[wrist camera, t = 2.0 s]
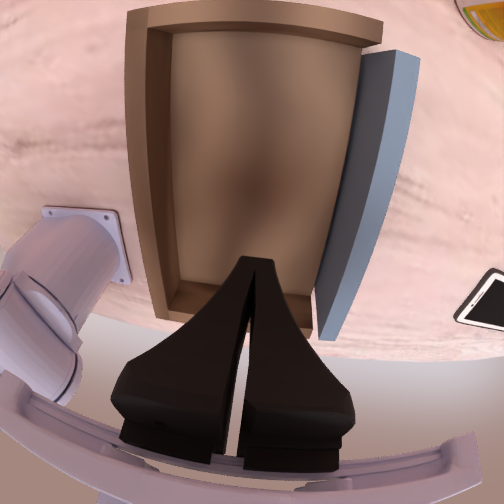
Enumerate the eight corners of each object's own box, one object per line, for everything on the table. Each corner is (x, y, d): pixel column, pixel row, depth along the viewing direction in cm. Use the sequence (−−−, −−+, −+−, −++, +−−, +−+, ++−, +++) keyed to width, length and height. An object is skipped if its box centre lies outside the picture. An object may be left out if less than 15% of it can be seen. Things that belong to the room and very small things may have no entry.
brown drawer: (174, 276, 25) (155, 317, 21) (164, 22, 13) (127, 11, 9) (307, 293, 25) (309, 338, 21) (357, 33, 12) (383, 21, 8)
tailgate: (314, 283, 24) (318, 340, 19) (360, 55, 13) (396, 49, 8) (327, 284, 24) (334, 341, 19) (378, 60, 13) (420, 58, 8)
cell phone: (506, 327, 26) (508, 332, 26) (449, 315, 26) (452, 322, 25) (538, 288, 22) (541, 293, 21) (489, 263, 21) (493, 269, 20)
